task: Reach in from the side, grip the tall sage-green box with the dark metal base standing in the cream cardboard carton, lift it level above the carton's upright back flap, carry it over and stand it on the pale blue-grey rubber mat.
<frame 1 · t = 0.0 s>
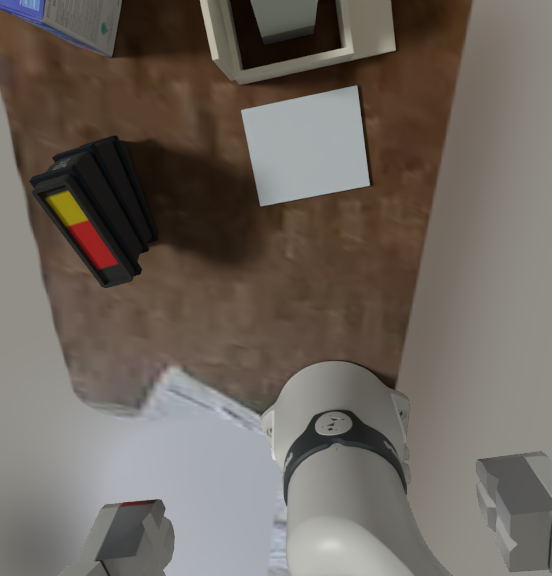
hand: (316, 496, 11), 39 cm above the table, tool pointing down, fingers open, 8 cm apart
magazine: (134, 202, 48), on the table
carton: (284, 11, 42), on the table
mat: (306, 148, 45), on the table
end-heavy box: (284, 11, 42), resting in carton
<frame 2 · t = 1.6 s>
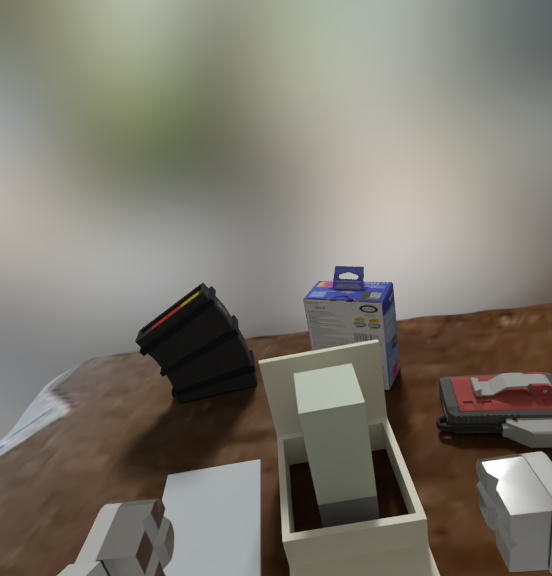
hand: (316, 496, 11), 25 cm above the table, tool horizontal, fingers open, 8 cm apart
ink cartridge box: (359, 374, 56), on the table
magazine: (210, 391, 58), on the table
carton: (346, 498, 39), on the table
walkie-talkie: (536, 420, 44), on the table
mat: (208, 521, 40), on the table
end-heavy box: (346, 499, 39), resting in carton
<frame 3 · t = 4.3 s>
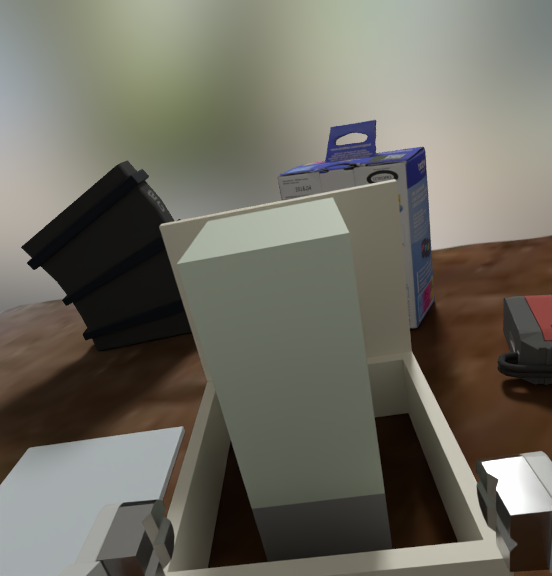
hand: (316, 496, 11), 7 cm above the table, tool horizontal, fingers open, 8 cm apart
ink cartridge box: (368, 311, 35), on the table
magazine: (147, 337, 39), on the table
carton: (324, 501, 19), on the table
mat: (57, 532, 21), on the table
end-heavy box: (324, 501, 19), resting in carton
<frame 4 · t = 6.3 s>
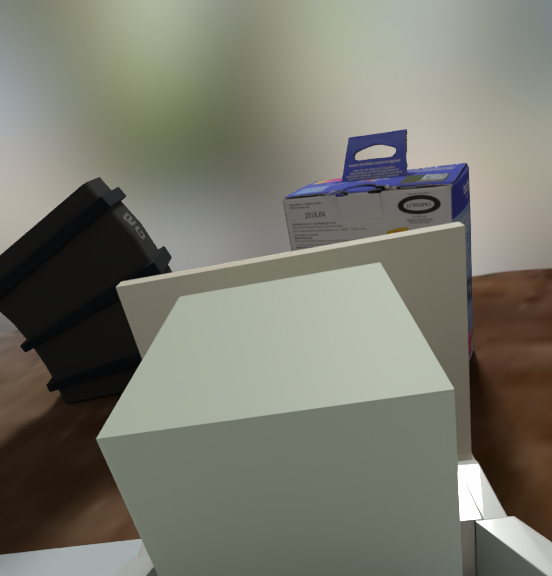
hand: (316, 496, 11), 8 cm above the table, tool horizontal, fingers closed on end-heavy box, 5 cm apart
ink cartridge box: (392, 360, 29), on the table
magazine: (126, 385, 33), on the table
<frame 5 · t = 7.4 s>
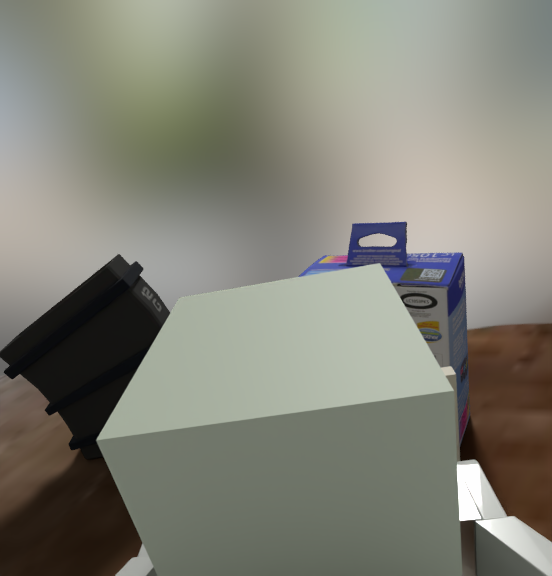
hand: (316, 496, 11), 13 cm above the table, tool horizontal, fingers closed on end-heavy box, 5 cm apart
ink cartridge box: (393, 423, 31), on the table
magazine: (142, 440, 35), on the table
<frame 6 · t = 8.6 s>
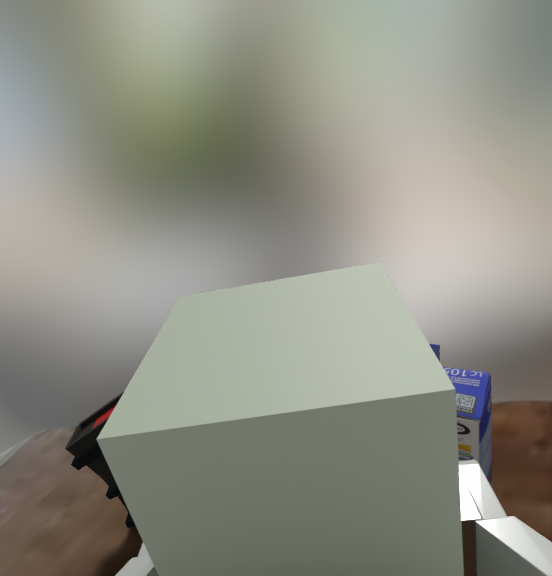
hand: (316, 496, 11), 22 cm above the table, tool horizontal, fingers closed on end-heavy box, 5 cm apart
ink cartridge box: (422, 509, 34), on the table
magazine: (188, 514, 38), on the table
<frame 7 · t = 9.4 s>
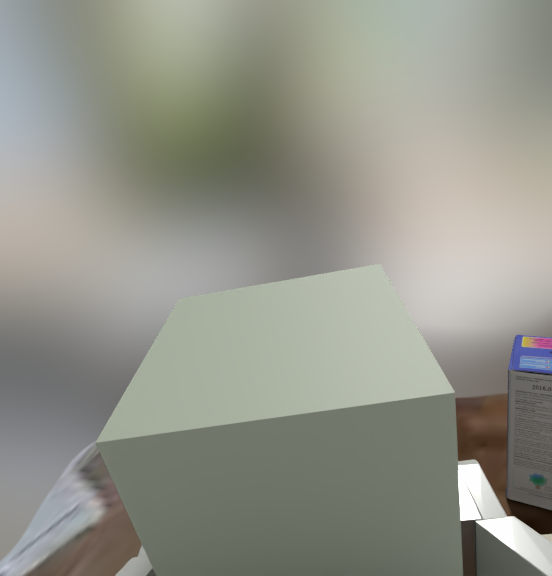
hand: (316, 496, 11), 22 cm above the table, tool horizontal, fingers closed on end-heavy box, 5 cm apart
when the fingers open (9 cm above the table, at t = 12.2 s): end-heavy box drops 1 cm, resting on mat.
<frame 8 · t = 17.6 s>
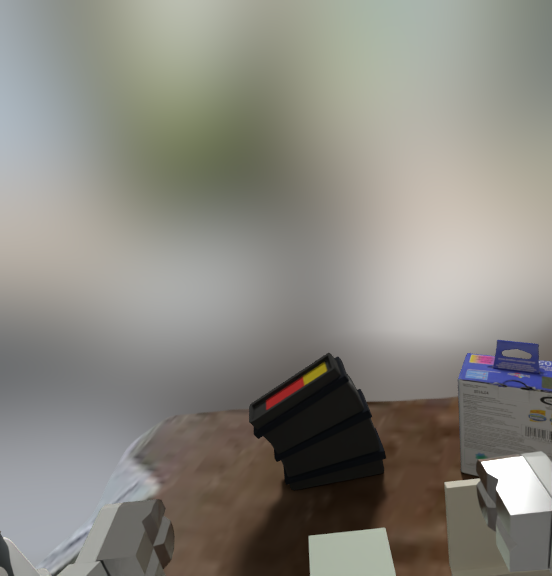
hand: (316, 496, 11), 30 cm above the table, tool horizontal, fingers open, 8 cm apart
ink cartridge box: (514, 468, 45), on the table
magazine: (326, 475, 49), on the table
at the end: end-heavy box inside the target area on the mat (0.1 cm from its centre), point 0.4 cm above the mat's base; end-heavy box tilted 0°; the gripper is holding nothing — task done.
